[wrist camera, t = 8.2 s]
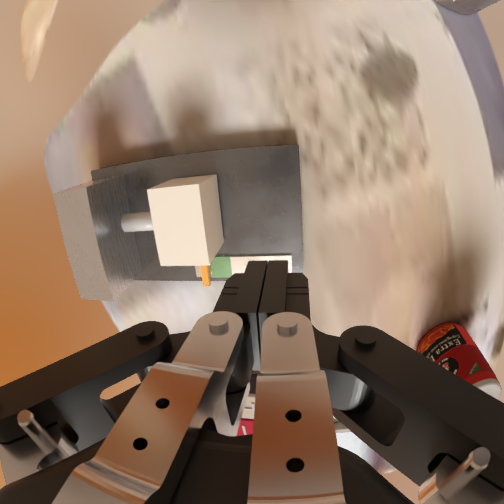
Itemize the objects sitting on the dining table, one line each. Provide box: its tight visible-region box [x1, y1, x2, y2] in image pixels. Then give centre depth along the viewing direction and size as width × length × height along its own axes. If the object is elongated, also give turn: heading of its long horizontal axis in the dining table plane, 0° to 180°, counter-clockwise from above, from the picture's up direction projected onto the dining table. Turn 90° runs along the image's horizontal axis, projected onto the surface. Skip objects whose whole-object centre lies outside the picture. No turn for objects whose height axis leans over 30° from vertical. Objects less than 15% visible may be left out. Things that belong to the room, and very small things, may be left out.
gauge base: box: [54, 145, 303, 301], centre depth 24 cm, size 12×20×8 cm, turn 95°
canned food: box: [417, 322, 502, 399], centre depth 25 cm, size 8×8×11 cm
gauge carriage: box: [121, 174, 224, 286], centre depth 24 cm, size 10×8×5 cm
